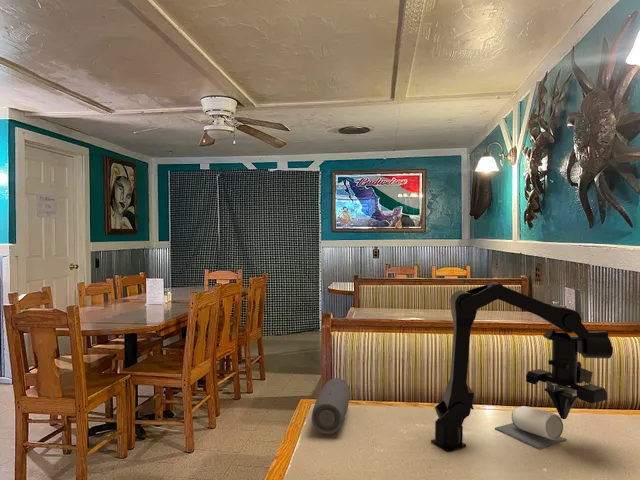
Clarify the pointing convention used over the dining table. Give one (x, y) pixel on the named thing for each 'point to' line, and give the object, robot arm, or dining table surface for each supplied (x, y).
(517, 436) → the mat
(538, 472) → the dining table surface
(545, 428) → the can
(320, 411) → the bluetooth speaker
